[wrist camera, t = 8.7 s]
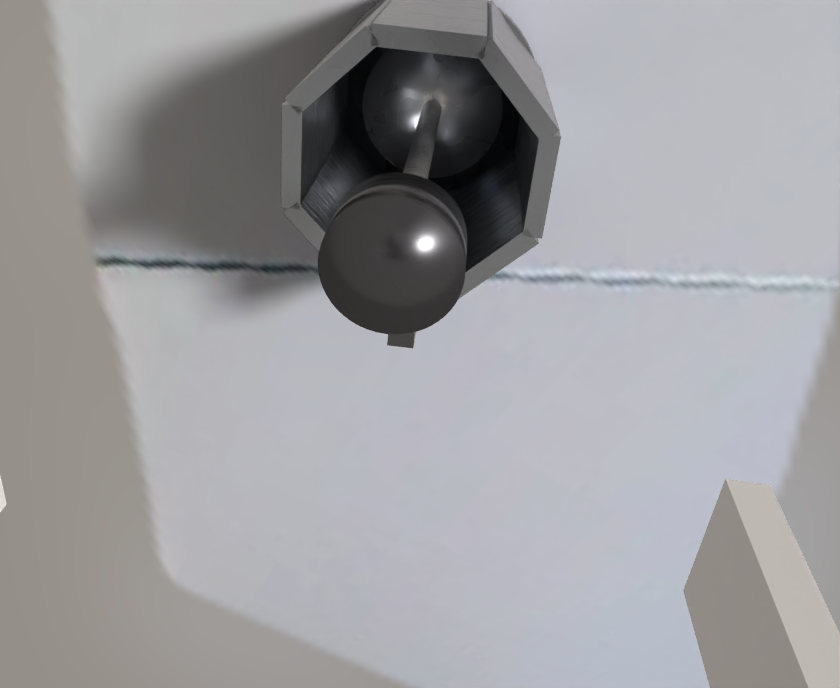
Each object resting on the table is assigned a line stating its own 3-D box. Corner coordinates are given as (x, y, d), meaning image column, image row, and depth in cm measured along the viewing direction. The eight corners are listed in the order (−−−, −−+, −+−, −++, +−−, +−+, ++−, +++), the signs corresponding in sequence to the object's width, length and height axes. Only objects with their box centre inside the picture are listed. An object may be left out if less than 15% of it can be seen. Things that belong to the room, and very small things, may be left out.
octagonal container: (336, -27, 40) (277, 6, 29) (557, -2, 40) (584, 41, 29) (326, 234, 47) (275, 342, 36) (513, 257, 47) (521, 372, 36)
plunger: (368, 24, 40) (271, 135, 22) (512, 41, 40) (532, 165, 22) (360, 165, 43) (271, 358, 25) (491, 180, 43) (494, 385, 25)
